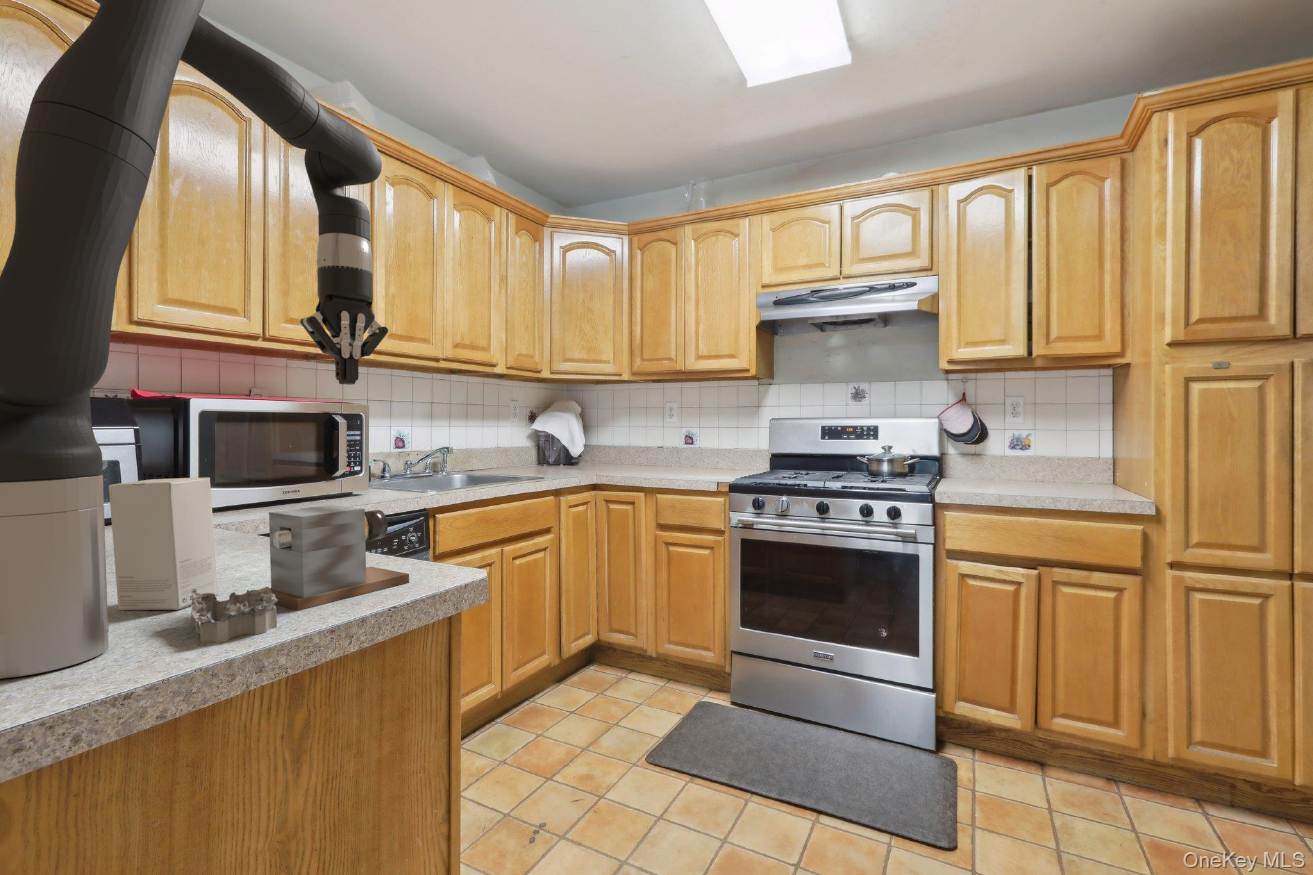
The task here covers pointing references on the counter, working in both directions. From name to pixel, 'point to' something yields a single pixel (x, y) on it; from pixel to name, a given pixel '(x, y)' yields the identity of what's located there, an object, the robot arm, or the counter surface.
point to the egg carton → (233, 614)
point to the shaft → (373, 529)
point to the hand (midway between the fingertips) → (347, 384)
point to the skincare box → (162, 542)
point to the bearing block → (323, 557)
